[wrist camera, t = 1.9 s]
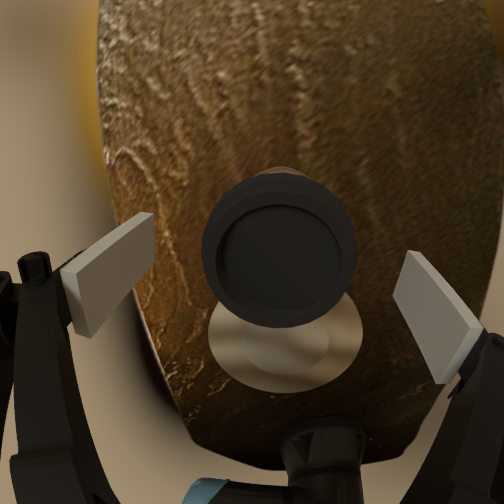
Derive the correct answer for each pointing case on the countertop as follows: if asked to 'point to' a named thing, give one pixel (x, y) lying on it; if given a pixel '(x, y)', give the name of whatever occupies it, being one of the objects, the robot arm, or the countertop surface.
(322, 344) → the cream round saucer
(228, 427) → the countertop surface
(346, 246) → the coffee cup
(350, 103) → the countertop surface
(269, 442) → the countertop surface
